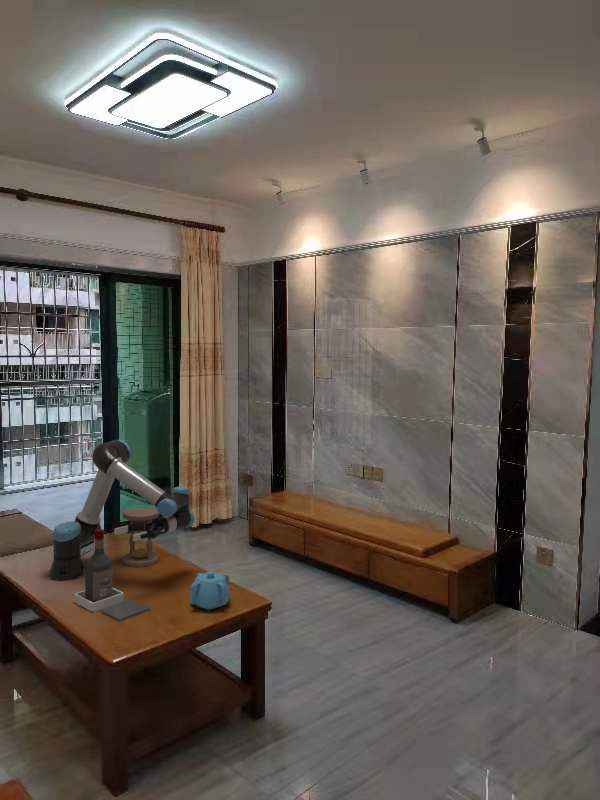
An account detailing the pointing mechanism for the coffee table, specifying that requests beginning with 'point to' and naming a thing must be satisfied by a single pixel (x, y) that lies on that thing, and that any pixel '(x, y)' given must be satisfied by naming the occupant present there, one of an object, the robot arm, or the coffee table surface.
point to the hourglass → (138, 516)
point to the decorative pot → (210, 590)
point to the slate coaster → (125, 610)
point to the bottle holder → (80, 600)
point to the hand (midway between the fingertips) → (123, 535)
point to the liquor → (99, 572)
